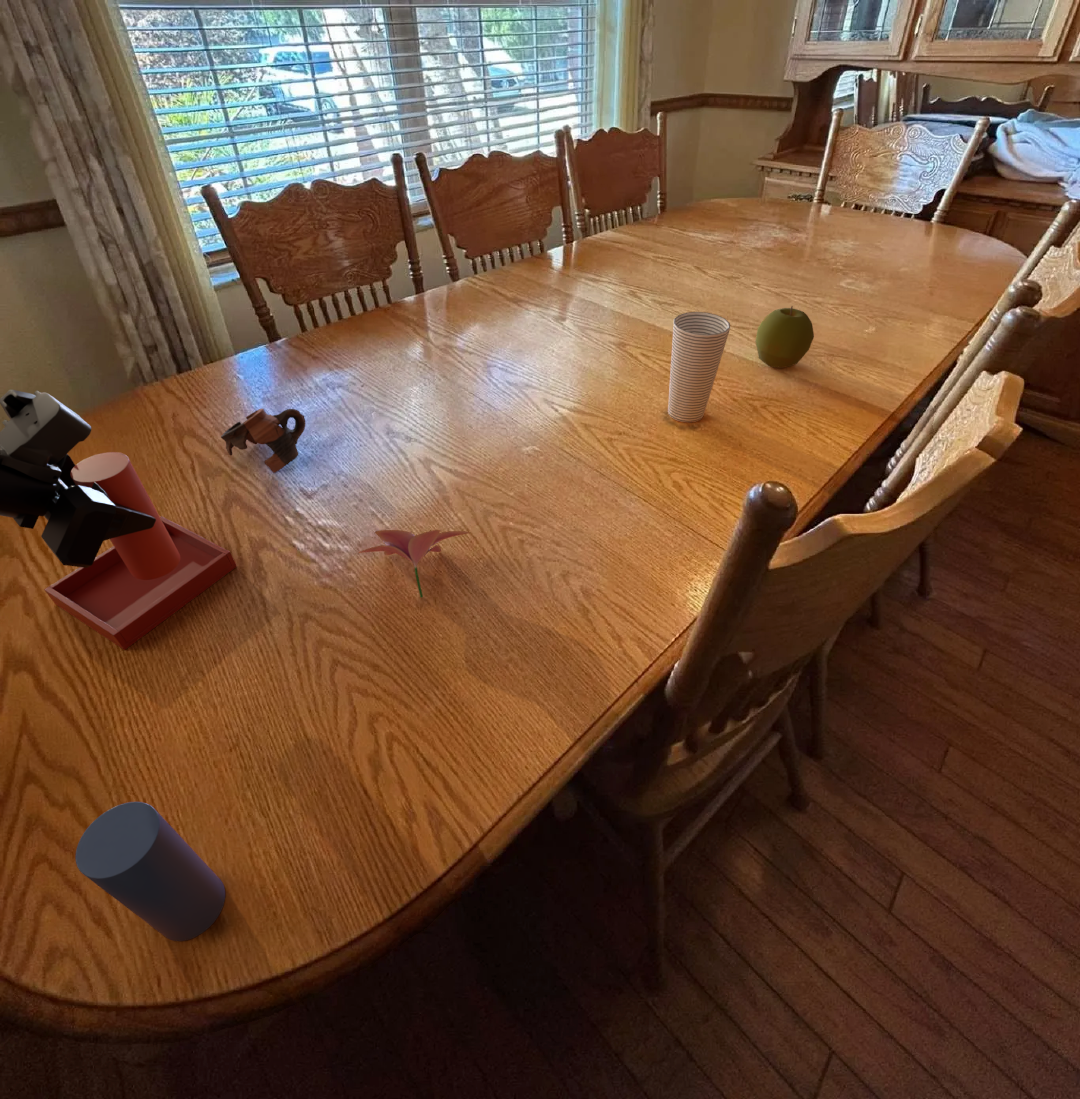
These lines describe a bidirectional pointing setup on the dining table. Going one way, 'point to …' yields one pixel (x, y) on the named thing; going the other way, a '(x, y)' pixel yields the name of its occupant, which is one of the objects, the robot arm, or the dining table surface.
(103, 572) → the red tray
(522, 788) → the dining table surface
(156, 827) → the blue pin
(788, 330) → the apple
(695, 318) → the cup
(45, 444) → the robot arm
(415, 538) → the lily
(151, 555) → the red pin
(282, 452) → the brown irregular piece
